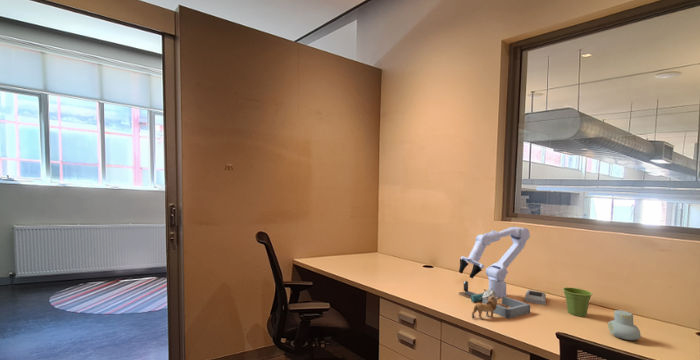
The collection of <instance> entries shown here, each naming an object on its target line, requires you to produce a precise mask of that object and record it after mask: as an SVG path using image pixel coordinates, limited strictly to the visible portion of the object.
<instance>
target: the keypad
mask: <svg viewBox="0 0 700 360" xmlns="http://www.w3.org/2000/svg"><path fill="white" fill-rule="evenodd" d="M546 296H547V295H546V293H544V292H543V291H538V290H537V291H535V290H530V289H527V290H526V292H525V296H524V303H532V304H537V305H543V306H546V305H547V304H546V303H547V301H546V300H547V297H546Z"/></svg>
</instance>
